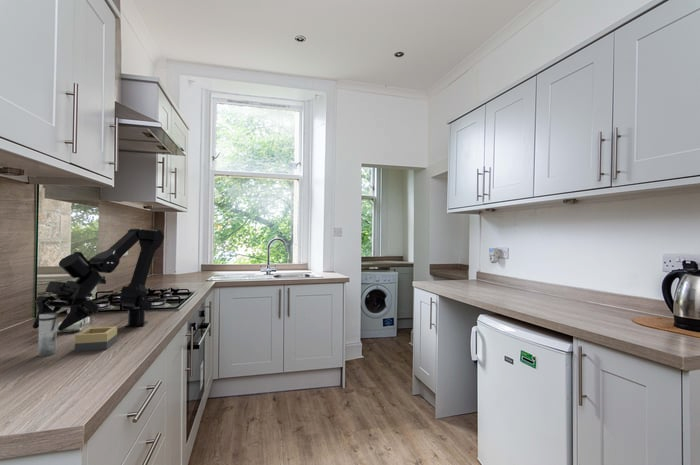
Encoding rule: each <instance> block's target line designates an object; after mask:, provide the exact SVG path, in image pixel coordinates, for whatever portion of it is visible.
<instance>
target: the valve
mask: <svg viewBox="0 0 700 465" xmlns="http://www.w3.org/2000/svg"><path fill="white" fill-rule="evenodd" d="M58 301H60V299H59V300H58ZM69 312H70V308H68V309H67V308H66V313H67V315H68V314H69ZM65 318H66V316H65V317H64V319H65ZM62 322H63V321H59V322H57V333H72V332H74V331H75V332H82V330H83V325H84V324H83V322H82V321H81V320H80V321H78V322H76V323H74V324H73V325H71V326H69V327H67V328H65V329H64V330H62V331H60V330H58V328H59V326H60V325H61V323H62Z"/></svg>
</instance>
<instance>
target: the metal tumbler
mask: <svg viewBox="0 0 700 465" xmlns="http://www.w3.org/2000/svg"><path fill="white" fill-rule="evenodd" d="M57 325H58V312H51V313H43V314H40V315H39V327H38V344H37V346H38V347H37V356H38V357H49V356H52V355H55V354H56V353H57V336H58V334H57V333H58V332H57Z"/></svg>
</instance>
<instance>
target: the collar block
mask: <svg viewBox="0 0 700 465" xmlns="http://www.w3.org/2000/svg"><path fill="white" fill-rule="evenodd" d="M74 339H75V340H74V352H75V353H76V352H89V351H91V352H92V351H106V350H108V349H109V348H111V347H112V346H113V345H114V344H115V343H116V342H118V326H103V327H102V326H100V327H98V326H97V327H87V328H86V329H84V330H81V331H79V333H77V334H75V336H74Z"/></svg>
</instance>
